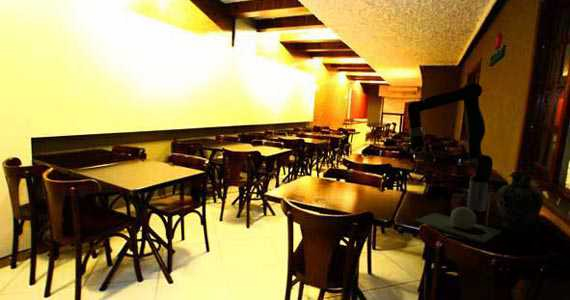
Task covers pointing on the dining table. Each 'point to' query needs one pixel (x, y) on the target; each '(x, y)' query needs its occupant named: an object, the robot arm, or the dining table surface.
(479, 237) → the putting board
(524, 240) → the dining table surface
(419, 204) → the dining table surface
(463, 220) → the ball
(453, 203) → the soda can
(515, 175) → the decorative vase
